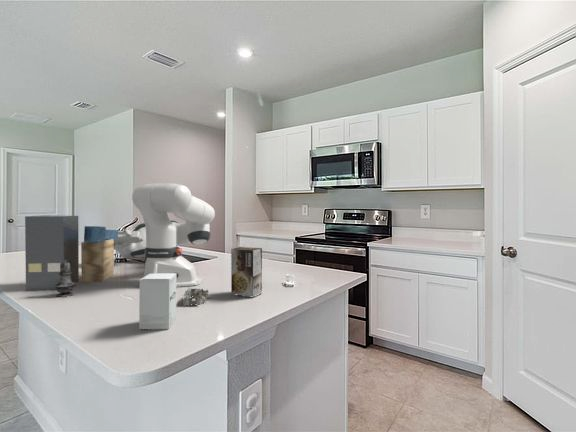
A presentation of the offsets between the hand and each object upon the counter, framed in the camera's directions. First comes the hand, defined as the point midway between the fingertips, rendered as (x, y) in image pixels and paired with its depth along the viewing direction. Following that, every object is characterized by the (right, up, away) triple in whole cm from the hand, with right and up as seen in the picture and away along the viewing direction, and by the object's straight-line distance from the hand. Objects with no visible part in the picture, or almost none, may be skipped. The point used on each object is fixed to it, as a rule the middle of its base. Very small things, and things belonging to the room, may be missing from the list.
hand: (114, 230), depth 154 cm
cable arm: (+3, -1, -17) cm, 18 cm away
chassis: (-5, -19, -32) cm, 38 cm away
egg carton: (+52, -21, -49) cm, 75 cm away
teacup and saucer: (+80, -21, -25) cm, 86 cm away
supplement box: (+49, -22, -70) cm, 88 cm away
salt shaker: (+7, -20, -44) cm, 49 cm away
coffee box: (+67, -21, -40) cm, 81 cm away
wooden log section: (+3, -19, -18) cm, 27 cm away
